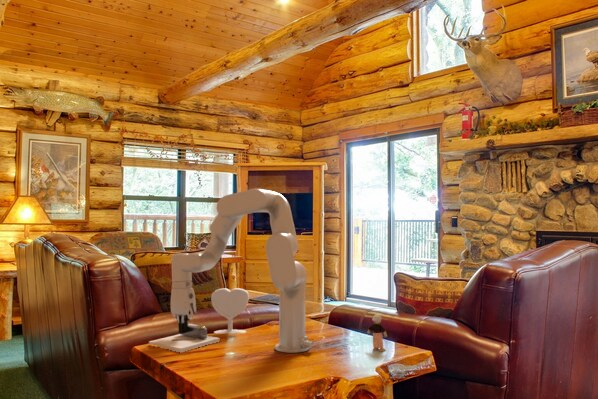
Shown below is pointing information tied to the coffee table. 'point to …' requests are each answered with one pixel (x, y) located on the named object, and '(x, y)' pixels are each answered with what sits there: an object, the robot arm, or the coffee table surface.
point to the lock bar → (196, 332)
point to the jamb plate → (183, 342)
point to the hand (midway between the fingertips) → (183, 332)
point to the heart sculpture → (229, 305)
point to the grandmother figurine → (377, 333)
